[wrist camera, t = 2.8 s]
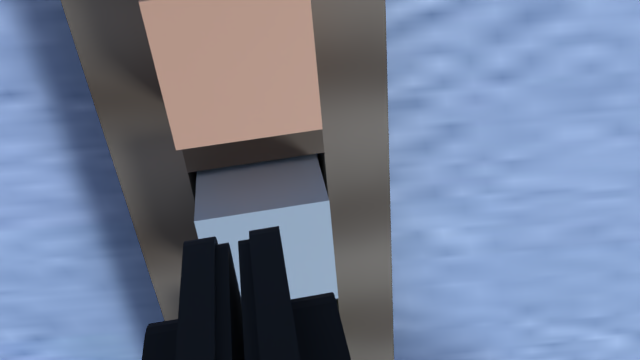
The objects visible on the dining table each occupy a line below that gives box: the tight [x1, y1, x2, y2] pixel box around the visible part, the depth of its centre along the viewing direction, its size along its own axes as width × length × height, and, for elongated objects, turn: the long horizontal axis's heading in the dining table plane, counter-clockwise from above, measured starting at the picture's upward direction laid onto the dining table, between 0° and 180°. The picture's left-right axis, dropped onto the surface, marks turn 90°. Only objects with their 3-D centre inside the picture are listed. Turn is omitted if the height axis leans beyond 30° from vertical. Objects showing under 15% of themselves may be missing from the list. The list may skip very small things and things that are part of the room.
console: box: [61, 0, 394, 360], centre depth 27 cm, size 27×11×3 cm, turn 5°
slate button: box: [194, 154, 338, 299], centre depth 25 cm, size 5×5×4 cm
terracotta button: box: [139, 0, 323, 150], centre depth 21 cm, size 5×5×4 cm
